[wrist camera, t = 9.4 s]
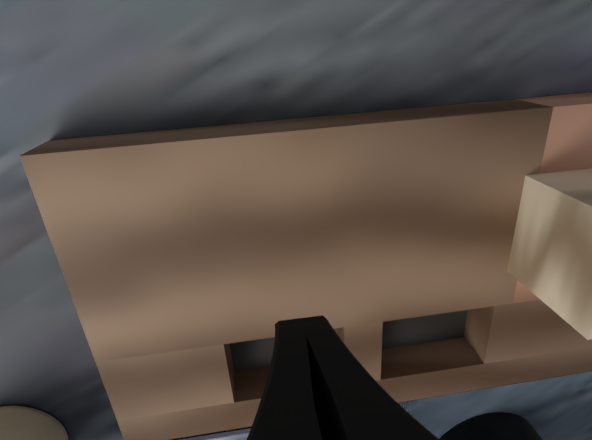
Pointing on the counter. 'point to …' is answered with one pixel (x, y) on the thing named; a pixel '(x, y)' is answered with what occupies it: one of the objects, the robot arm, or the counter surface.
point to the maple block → (557, 244)
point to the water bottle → (493, 428)
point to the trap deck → (308, 252)
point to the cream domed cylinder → (29, 424)
